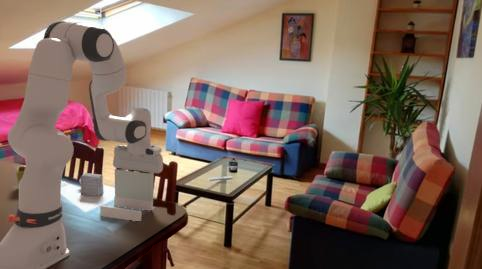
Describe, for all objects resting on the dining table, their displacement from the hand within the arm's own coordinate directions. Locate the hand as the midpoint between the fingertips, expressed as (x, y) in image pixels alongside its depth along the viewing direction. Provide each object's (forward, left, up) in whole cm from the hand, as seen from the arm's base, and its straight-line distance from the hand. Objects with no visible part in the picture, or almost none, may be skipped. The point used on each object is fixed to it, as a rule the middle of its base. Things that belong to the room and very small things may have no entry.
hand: (137, 180), depth 159 cm
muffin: (+11, +29, -11) cm, 33 cm away
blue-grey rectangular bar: (-10, -1, -11) cm, 15 cm away
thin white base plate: (-9, 0, -11) cm, 14 cm away
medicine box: (+5, +23, -11) cm, 26 cm away
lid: (-4, 0, -1) cm, 4 cm away
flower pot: (+1, +50, -11) cm, 51 cm away
